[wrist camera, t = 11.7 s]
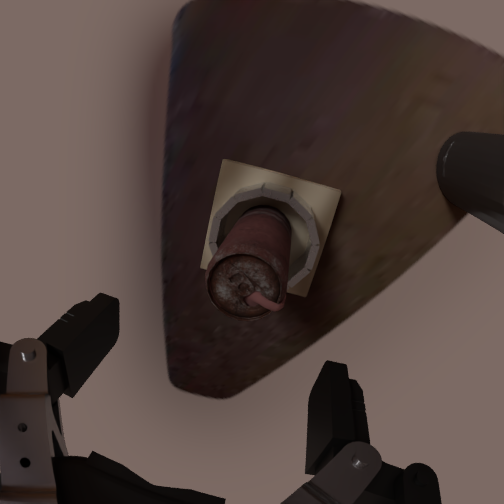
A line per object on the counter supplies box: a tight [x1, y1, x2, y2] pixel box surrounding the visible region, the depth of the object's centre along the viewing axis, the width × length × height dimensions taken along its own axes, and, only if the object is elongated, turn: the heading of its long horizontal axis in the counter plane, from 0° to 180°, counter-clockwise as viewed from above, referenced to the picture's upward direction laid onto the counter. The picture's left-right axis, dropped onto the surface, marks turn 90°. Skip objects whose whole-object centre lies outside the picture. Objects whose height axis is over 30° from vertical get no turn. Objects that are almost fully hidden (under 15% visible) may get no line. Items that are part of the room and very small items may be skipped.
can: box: [205, 205, 292, 321], centre depth 29 cm, size 6×6×14 cm
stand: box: [200, 159, 341, 297], centre depth 36 cm, size 13×13×1 cm
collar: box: [208, 182, 320, 289], centre depth 34 cm, size 11×11×4 cm
